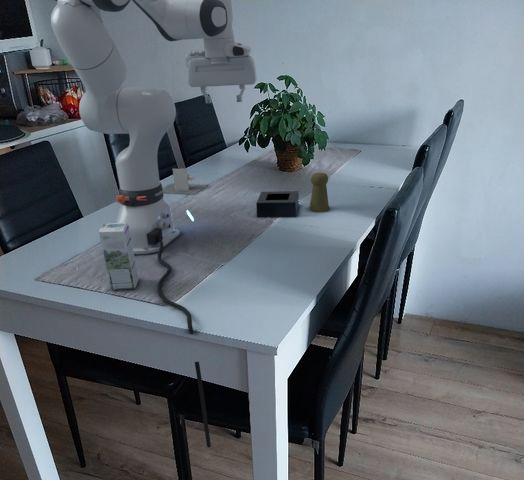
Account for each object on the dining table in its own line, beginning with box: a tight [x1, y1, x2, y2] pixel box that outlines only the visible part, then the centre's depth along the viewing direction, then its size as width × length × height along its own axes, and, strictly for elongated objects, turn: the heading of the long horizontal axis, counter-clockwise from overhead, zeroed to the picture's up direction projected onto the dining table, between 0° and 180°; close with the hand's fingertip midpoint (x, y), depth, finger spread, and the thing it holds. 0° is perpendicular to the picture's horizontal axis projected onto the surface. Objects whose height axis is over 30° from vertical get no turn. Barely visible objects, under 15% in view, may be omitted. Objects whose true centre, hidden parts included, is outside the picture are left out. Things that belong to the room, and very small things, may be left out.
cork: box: [309, 172, 330, 213], centre depth 168 cm, size 6×6×11 cm
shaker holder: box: [255, 190, 300, 218], centre depth 170 cm, size 12×12×4 cm
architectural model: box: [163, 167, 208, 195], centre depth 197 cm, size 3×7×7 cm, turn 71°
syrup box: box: [98, 222, 139, 291], centre depth 125 cm, size 6×6×14 cm
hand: (224, 102), depth 163 cm, fingers open, 8 cm apart
